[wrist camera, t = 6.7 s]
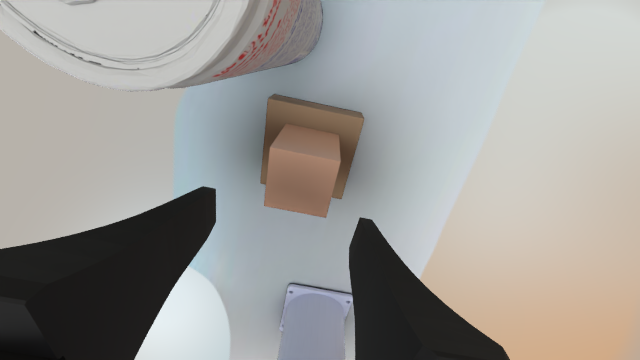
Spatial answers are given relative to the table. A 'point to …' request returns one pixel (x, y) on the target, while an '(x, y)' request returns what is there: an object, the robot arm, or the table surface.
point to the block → (302, 170)
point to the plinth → (318, 119)
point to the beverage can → (162, 38)
